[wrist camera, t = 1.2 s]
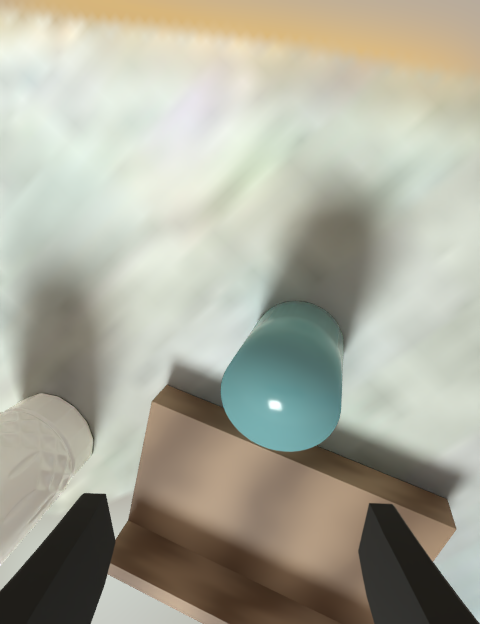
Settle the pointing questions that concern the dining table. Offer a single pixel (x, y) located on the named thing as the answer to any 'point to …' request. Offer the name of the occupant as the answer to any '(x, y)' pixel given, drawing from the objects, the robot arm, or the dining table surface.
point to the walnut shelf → (255, 523)
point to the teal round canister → (287, 378)
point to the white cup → (37, 462)
